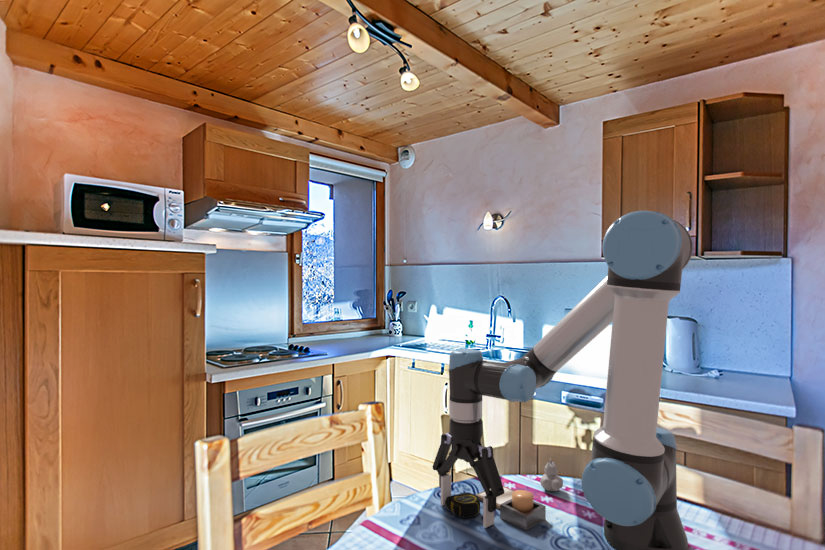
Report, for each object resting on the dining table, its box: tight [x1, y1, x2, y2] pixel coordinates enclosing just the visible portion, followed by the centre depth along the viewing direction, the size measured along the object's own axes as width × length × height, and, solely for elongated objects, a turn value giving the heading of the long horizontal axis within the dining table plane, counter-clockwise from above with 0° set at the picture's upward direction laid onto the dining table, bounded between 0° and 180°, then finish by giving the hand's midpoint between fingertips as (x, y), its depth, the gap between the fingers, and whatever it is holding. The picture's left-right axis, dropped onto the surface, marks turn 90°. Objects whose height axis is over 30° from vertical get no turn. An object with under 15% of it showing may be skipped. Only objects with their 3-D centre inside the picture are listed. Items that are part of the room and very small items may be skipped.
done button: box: [512, 489, 534, 514], centre depth 102 cm, size 5×5×3 cm
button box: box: [499, 499, 547, 531], centre depth 102 cm, size 7×7×3 cm
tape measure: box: [444, 492, 481, 519], centre depth 105 cm, size 7×7×4 cm
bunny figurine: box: [540, 457, 564, 492], centre depth 116 cm, size 5×7×8 cm
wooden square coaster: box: [475, 485, 515, 510], centre depth 112 cm, size 9×9×1 cm
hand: (466, 513), depth 104 cm, fingers open, 12 cm apart
